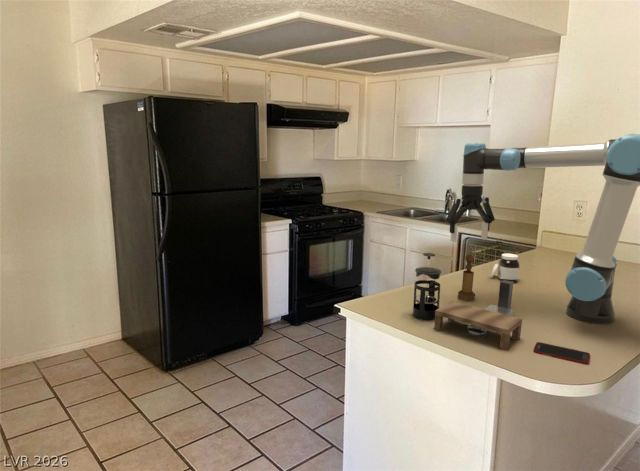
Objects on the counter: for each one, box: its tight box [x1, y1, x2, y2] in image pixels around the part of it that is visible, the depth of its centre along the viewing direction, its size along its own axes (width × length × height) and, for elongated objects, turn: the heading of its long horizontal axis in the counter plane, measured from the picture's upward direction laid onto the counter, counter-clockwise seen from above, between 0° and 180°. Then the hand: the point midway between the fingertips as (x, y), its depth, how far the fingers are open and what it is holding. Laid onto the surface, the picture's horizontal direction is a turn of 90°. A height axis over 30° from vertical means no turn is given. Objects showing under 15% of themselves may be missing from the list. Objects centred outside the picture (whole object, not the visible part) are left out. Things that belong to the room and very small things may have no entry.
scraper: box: [483, 280, 514, 317], centre depth 165 cm, size 8×19×12 cm, turn 139°
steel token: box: [466, 324, 487, 338], centre depth 154 cm, size 6×6×2 cm
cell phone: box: [533, 341, 591, 366], centre depth 140 cm, size 8×15×1 cm, turn 58°
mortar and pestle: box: [457, 254, 476, 302], centre depth 185 cm, size 7×6×18 cm
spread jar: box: [489, 253, 521, 283], centre depth 212 cm, size 12×11×12 cm
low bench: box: [433, 300, 523, 351], centre depth 153 cm, size 24×12×6 cm, turn 49°
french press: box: [411, 252, 442, 322], centre depth 167 cm, size 12×9×23 cm
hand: (469, 240), depth 181 cm, fingers open, 13 cm apart
